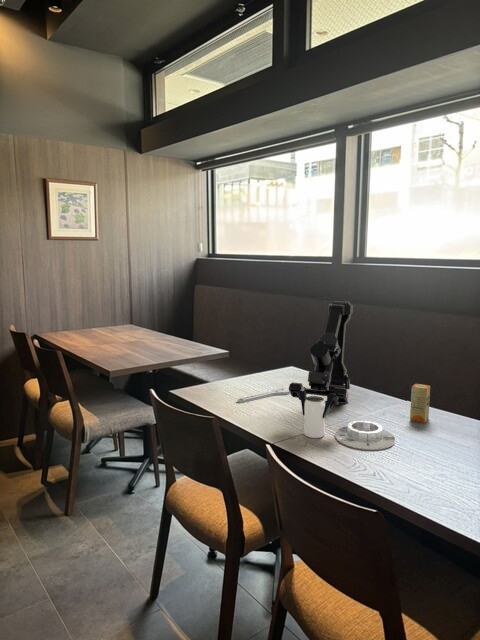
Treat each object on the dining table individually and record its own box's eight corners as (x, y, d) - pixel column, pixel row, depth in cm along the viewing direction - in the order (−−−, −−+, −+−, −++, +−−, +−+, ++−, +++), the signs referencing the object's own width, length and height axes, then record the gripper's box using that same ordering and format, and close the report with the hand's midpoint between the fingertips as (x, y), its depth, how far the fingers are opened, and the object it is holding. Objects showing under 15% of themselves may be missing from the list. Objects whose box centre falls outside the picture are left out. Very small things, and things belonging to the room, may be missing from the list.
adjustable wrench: (239, 404, 182) (239, 400, 182) (232, 400, 188) (231, 396, 188) (292, 394, 194) (292, 390, 194) (284, 390, 200) (284, 386, 200)
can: (302, 431, 154) (302, 395, 152) (321, 430, 155) (322, 395, 153) (306, 439, 148) (307, 402, 146) (326, 438, 148) (327, 401, 146)
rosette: (359, 423, 160) (359, 412, 160) (406, 439, 147) (407, 428, 146) (323, 436, 149) (323, 425, 149) (371, 455, 135) (371, 443, 135)
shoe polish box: (409, 420, 163) (411, 386, 161) (413, 416, 167) (415, 383, 165) (424, 423, 160) (426, 389, 158) (428, 419, 164) (430, 385, 162)
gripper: (290, 358, 155) (279, 400, 146) (347, 363, 147) (339, 408, 139) (297, 375, 163) (287, 416, 155) (351, 381, 156) (344, 424, 147)
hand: (313, 416), depth 149 cm, fingers closed on can, 6 cm apart
